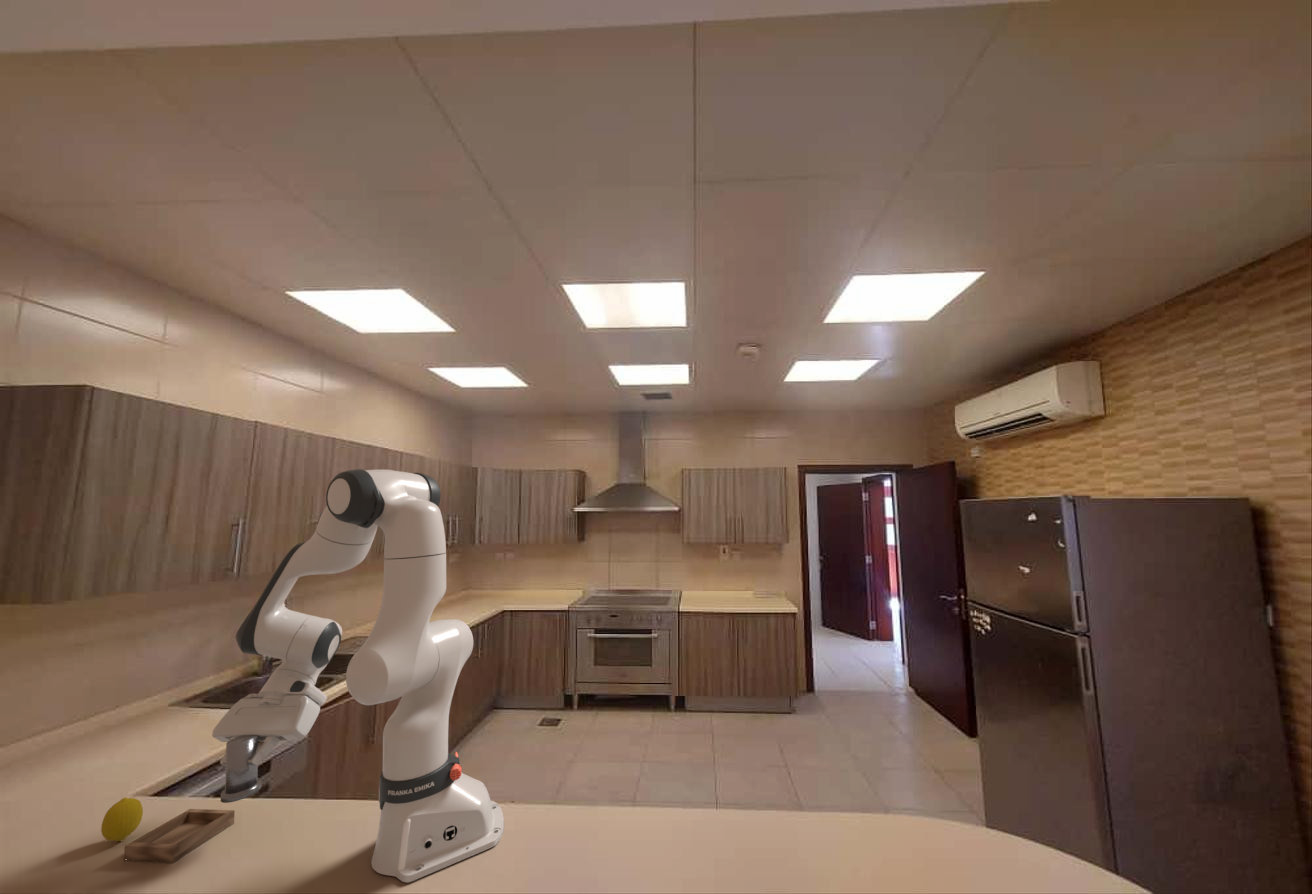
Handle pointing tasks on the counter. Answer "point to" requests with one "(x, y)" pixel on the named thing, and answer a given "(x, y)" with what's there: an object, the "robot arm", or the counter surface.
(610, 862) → the counter surface
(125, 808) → the lemon
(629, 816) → the counter surface
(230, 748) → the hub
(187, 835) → the tray
